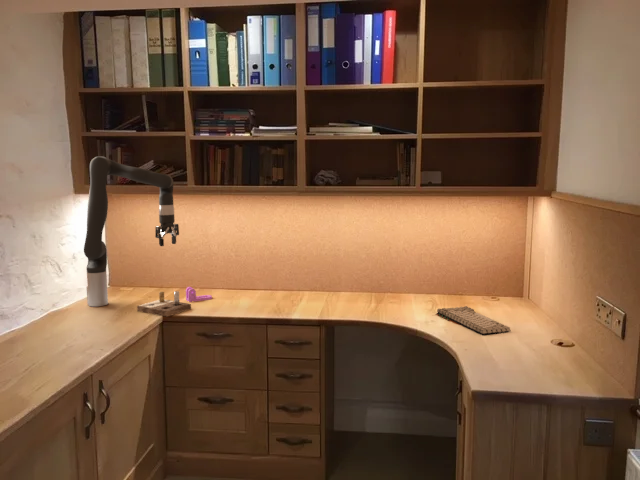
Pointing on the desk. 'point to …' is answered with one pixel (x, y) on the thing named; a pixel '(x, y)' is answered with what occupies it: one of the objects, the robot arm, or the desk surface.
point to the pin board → (163, 307)
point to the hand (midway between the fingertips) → (167, 245)
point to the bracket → (192, 295)
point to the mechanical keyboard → (472, 320)
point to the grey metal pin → (176, 298)
